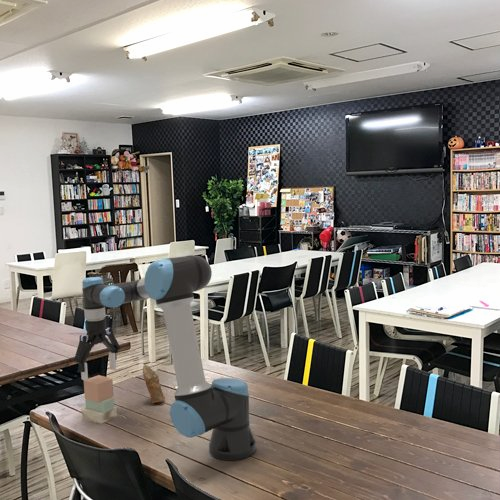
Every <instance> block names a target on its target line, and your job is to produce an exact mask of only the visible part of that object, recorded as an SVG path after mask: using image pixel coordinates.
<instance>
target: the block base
mask: <svg viewBox="0 0 500 500" xmlns="http://www.w3.org/2000/svg"><path fill="white" fill-rule="evenodd" d="M114 407H115V408H114V409H112V410H110V411H108V412H106V413H103V412H99V411H95V410H91V409H88V408H86V407H85V408H82V409H81V411H82V412H81V413H82V416H81V417H82V419H83V420H86V421H89V422H92V421H93V423H96V422H97V424H99V423H100V424H99V425H103V424H104V423H106V422H108V421H111V420H112V419H115V418H116V417H118V407H117V406H114Z"/></svg>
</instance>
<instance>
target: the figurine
mask: <svg viewBox="0 0 500 500" xmlns="http://www.w3.org/2000/svg"><path fill="white" fill-rule="evenodd" d="M142 375H143V379H144V380H143V381H144V382H145V387H146V390H147V391H148V393H149V396H150V400H151V401H150V402H151V404H154V403H163V402H164V401H165V399H166V397H165V396H164V393H163V390H162V385H161V383H160V379H159V375H158V374H157V373H156V372H155V371H154V370H153V369H152V367H150V366H148V365H147V364H144V365H142Z"/></svg>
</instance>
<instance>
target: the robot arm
mask: <svg viewBox="0 0 500 500" xmlns="http://www.w3.org/2000/svg"><path fill="white" fill-rule="evenodd" d="M212 274H213V273H212V267H211V266H210V264H209V262H208V260H206V259H205V258H204V257H202V256H199V255H193V254H192V255H191V254H190V255H185V256H175V257H169V258H163V259H162V258H161V259H158V260H155V261H153V262H151V263H150V264H149V265H148V267H147V268H146V271H145V274H144V277H143V278H140V279H136V280H132V281H131V280H130V281H125V282H120V283H114V284H105V283H104V279H103V278H102V277H100V276H91V277H90V276H89V277H86V278H83V280H82V282H81V283H82V285H81V287H82V288H81V290H82V301H83V310H84V319H85V321H84V324H85V325H84V328H85V330H86V334H85V335H81V334H80V335H79V343H78V345H77V349H76V351H75V356H74V358H73V362H74V363H77V364H78V367H79V372H80V376H81V380H83V381H84V380H86V381H87V380H88V379H89V373H88V363H87V362H86V361H87V358H88V357H89V356H90V355H89V354H90V353H91V352H92V349H93V348H94V346H96V345H98V344H103V345H104V346H105V347H106V348H107V349H108V350H109V352H108V360H109V369H110V370H112V371H116V370H117V359H118V358H117V356H118V355H117V353H119V351H120V350H121V346H120V344H119V342H118V340H117V339H116V337H115V334H114V331H113V328H112V327H107V319H106V308H111V309H112V308H118V307H120V306H121V305H123V304H129V303H133V302H138V301H143V300H144V301H145V300H148V299H152V300H155V303H156V304H155V305H156V306H157V307H158V308H160V309H161V310H162V313H163V318H164V322H165V323H164V324H165V328H166V334H167V339H168V343H169V348H170V349H169V350H170V352H171V353H170V354H171V357H172V364H173V369H174V374H175V379H176V384H177V388H176V390H175V392H174V393H173V396H174V400H175V401H173V402H172V403H171V405H170V408H169V416H170V421H171V423H172V425H173V427H174V428H175V430H176V431H177V432H178V433H179V434H181V436H183V437H185V438H189V439H191V438H195V437H198V436H202V435H204V434H205V433H207V432H209V431H212V432H211V435H210V439H209V443H208V452H209V454H210V456H212V457H213V458H215V459H218V460H223V461H238V460H244V459H246V458H249V457H250V456H252V455H253V454H254V453H255V452H256V449H257V446H256V439H255V437H254V434H253V431H252V429H251V426H250V393H249V386H248V384H247V382H246V381H243V380H241V379H238V378H232V377H231V378H230V377H223V378H220V377H219V378H215V379H213V380H212V382H211V383H209V382H208V381H207V380H206V377H205V371H204V366H203V361H202V356H201V351H200V347H199V341H198V336H197V332H196V328H195V327H196V326H195V322H194V315H193V312H192V311H193V310H192V307H191V304H192V302H193V300H194V298H195V297H194V292H198V291H201V290H203V289H204V288H206V287H207V286H208V285H209V283H210V282H211V279H212V276H213V275H212ZM106 336H107V337H106Z"/></svg>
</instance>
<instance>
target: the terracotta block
mask: <svg viewBox="0 0 500 500" xmlns="http://www.w3.org/2000/svg"><path fill="white" fill-rule="evenodd" d="M113 381H114V380H113V378H112V377H111V378H110V377H107V376H104V375H100V374H98V375H94V376H93V377H88V380H87V381H86V380H83V390H84V391H83V393H84V400H85V399H88V400H92V401H95V402H98V403H99V402H101V401H104V400H107V399H109V398H114V382H113Z"/></svg>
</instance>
